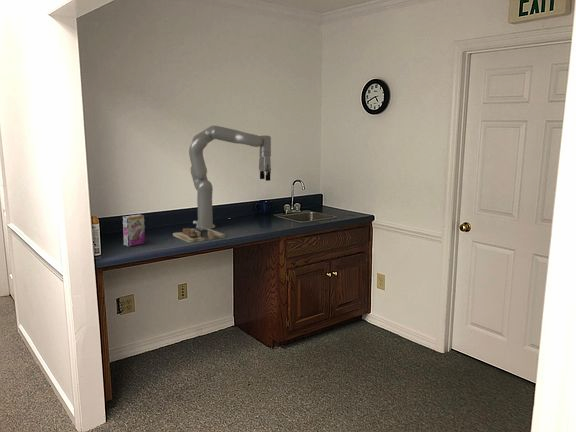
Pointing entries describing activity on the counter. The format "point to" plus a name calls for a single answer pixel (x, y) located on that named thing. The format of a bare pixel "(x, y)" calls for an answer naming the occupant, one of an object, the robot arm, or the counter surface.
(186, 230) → the lever
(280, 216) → the counter surface
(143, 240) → the candy bar box
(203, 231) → the keeper
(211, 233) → the board
